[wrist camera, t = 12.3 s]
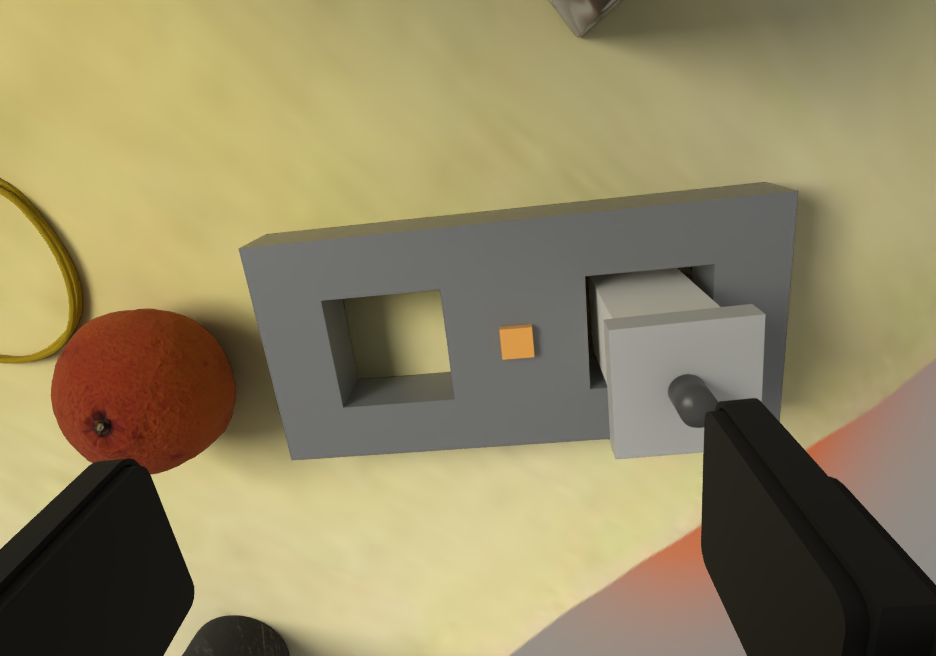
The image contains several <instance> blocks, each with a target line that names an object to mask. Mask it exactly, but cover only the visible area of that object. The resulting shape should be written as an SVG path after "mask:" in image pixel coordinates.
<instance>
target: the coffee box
mask: <svg viewBox="0 0 936 656" xmlns="http://www.w3.org/2000/svg"><path fill="white" fill-rule="evenodd" d="M549 1H550V2H551V4H552V5H553V6H554V8H555V9H556V10H557V12H558V13H559V14H560V16H561V17H562V18H563V20H564V21H565V22H566V24H567V25H568V26H569V28H570V29H571V30H572V32H573V33H574V34H575V36H576V37H578V38H579V37H581V36H582V35H584V34H585V33H586V32H587V31H588V30H589V29H590V28H591V27H593V26H594V25H595V24H596V23H597V22H598V21H599V20H600V19H601V18H602V17H604V16H605V15H606V14H607V13H608V12H609V11H610V10H611V9H612V8H614V7H615V6H616V5H617V4H618V3H619V2H620V1H621V0H549Z"/></svg>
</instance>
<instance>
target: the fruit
mask: <svg viewBox="0 0 936 656" xmlns="http://www.w3.org/2000/svg"><path fill="white" fill-rule="evenodd" d="M51 401H52V407H53V411H54V415H55V417H56V419H57V422H58V425H59V427H60V429H61V431H62V433H63V435H64V436H65V437H66V439H67V440H68V441H69V443H70V444H71V445H72V446H73V447H74V448H75V449H76V450H77V451H78V452H79V453H80V454H81V455H82V456H84V457H85V458H86V459H87V460H88V461H90V462H92V463H94V462H97V461H105V460H115V459H126V458H131V459H134V460H136V461H137V462H138V463H139V465H140V466H144V467H145V468H147V469H148V471H149V473H150V474H157V473H161V472H164V471H167V470H170V469H172V468H174V467H177V466H179V465H181V464H183V463H184V462H186V461H188V460H189V459H192V458H194V457H195V456H197V455H198V454H200V453H201V452H202V451H204V450H205V449H206V448H208V447H209V446H210V445H211V444H212V443H213V442H214V441H215V440H216V439H217V438H218V437H219V436H220V435H221V434H222V433H223V432H224V431H225V429H226V427H227V426H228V424H229V422H230V420H231V418H232V413H233V409H234V405H235V401H236V384H235V381H234V377H233V373H232V370H231V367H230V364H229V362H228V360H227V358H226V355H225V353H224V351H223V350H222V348H221V347H220V345H219V343H218V342H217V341H216V340H215V339H214V338H213V337H212V335H211V334H210V333H209V332H208V331H207V330H206V329H205V328H203V327H202V326H201V325H200V324H198V323H197V322H196V321H194V320H192V319H190V318H188V317H185V316H183V315H180V314H177V313H174V312H169V311H163V310H156V309H137V310H127V311H118V312H113V313H109V314H106V315H103V316H100V317H97V318H95V319H93V320H91V321H89V322H87V323H86V324H84V325H83V326H82V327H81V328H80V329H79V330H78V331H77V332H76V333H75V334H74V335H73V337H72V338H71V339H70V340H69V342H68V343H67V345H66V346H65V348H64V349H63V351H62V352H61V354H60V356H59V358H58V360H57V363H56V365H55V370H54V375H53V380H52V387H51Z"/></svg>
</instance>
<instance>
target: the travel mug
mask: <svg viewBox="0 0 936 656" xmlns="http://www.w3.org/2000/svg"><path fill="white" fill-rule="evenodd" d="M182 656H289V652H288V649H287V646H286V644H285V642H284V641H283V639H282V638H281V637H280V636H279V635H278V634H277V633H276V632H275V631H274V630H273V629H272V628H270V627H269V626H267V625H265V624H264V623H262V622H260V621H257V620H254V619H251V618H248V617H242V616H224V617H219V618H216V619H213V620H211V621H209V622H208V623H206V624H205V625H204V626H202V627H201V629H200V630H199V631H198V632H197V634H196V635H195V637H194V638H193V640H192V641H191V643H190V644H189V646H188V647H187V649H186V650H185V652H184V654H183V655H182Z"/></svg>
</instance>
